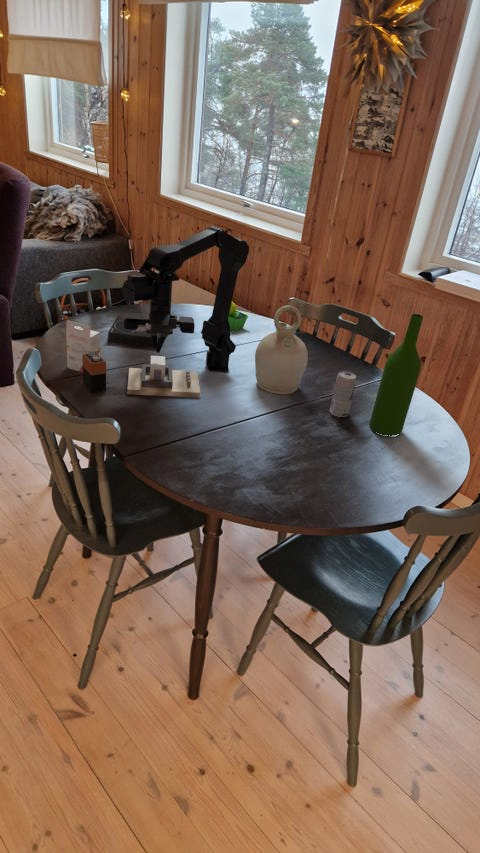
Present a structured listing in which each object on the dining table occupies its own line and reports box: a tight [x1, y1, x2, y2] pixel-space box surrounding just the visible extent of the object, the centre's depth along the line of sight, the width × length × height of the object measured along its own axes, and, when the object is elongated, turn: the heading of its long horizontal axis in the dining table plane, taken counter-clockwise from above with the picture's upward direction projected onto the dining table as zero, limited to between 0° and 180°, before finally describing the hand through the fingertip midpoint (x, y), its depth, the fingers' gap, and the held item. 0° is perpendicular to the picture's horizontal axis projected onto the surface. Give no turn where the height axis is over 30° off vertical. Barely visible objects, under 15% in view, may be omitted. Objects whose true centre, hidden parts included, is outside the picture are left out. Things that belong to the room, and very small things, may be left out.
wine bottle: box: [368, 313, 424, 436], centre depth 146 cm, size 9×9×32 cm
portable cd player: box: [107, 315, 160, 349], centre depth 191 cm, size 16×17×4 cm
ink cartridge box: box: [65, 319, 101, 373], centre depth 161 cm, size 9×5×15 cm, turn 68°
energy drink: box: [329, 370, 358, 418], centre depth 156 cm, size 5×5×12 cm
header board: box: [126, 364, 201, 398], centre depth 161 cm, size 20×14×4 cm
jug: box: [254, 304, 309, 395], centre depth 164 cm, size 15×16×25 cm
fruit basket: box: [228, 301, 249, 331], centre depth 208 cm, size 11×9×11 cm
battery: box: [82, 351, 107, 395], centre depth 153 cm, size 4×7×10 cm, turn 34°
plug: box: [150, 355, 166, 380], centre depth 159 cm, size 4×7×6 cm, turn 7°
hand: (158, 352), depth 157 cm, fingers closed
